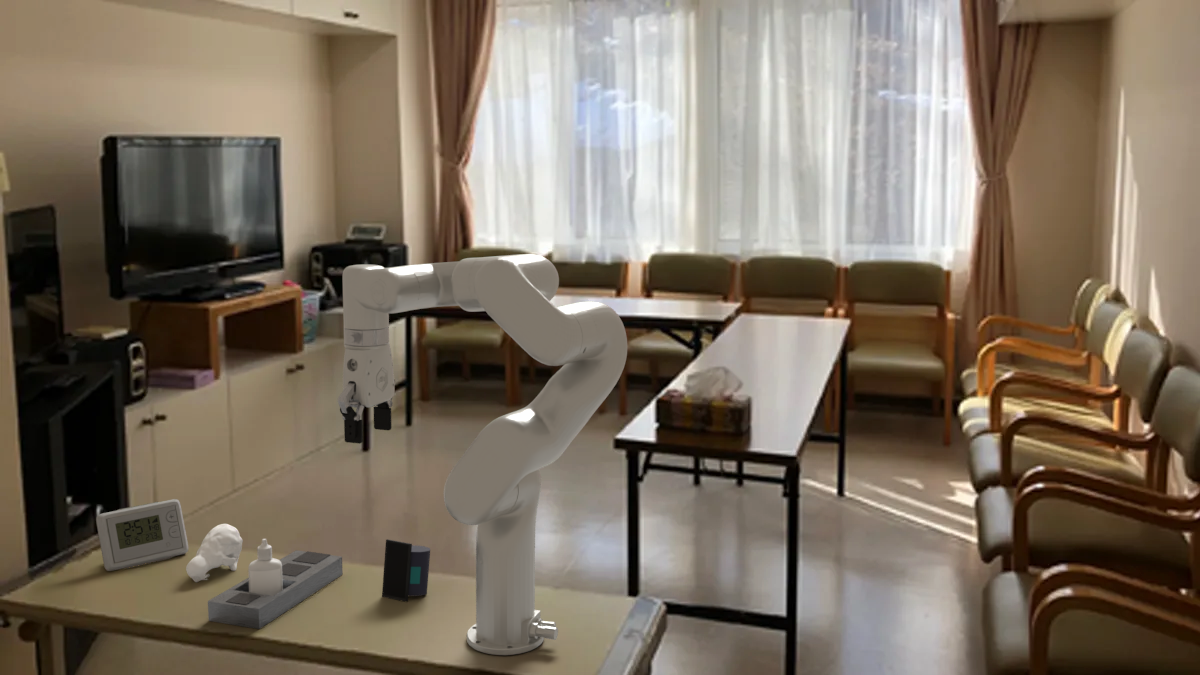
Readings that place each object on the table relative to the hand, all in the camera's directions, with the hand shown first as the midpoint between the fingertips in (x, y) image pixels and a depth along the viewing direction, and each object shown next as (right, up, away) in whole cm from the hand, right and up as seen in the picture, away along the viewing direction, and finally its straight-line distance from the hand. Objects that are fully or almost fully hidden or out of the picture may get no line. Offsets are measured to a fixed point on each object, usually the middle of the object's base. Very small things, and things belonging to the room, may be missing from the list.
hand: (368, 435), depth 186 cm
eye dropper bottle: (-19, -30, +3) cm, 36 cm away
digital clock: (-49, -27, +24) cm, 60 cm away
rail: (-17, -29, +7) cm, 35 cm away
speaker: (+5, -30, +9) cm, 31 cm away
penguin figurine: (-33, -28, +17) cm, 46 cm away
